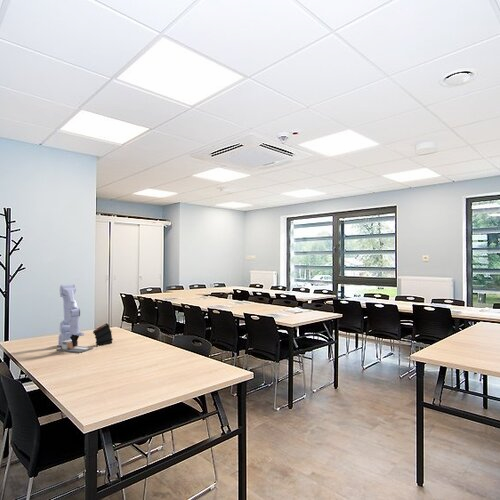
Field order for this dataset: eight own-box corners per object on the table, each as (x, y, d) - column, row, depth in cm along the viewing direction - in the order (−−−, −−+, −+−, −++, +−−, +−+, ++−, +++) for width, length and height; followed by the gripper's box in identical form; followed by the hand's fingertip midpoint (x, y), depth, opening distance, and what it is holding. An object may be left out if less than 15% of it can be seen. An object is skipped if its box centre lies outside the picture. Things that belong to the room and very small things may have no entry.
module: (61, 348, 244) (62, 341, 244) (70, 346, 251) (70, 339, 251) (66, 349, 243) (66, 342, 243) (74, 347, 250) (74, 339, 250)
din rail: (56, 350, 243) (56, 346, 243) (70, 346, 254) (70, 342, 254) (79, 353, 236) (79, 348, 237) (93, 349, 248) (93, 344, 248)
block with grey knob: (67, 347, 244) (67, 342, 244) (74, 346, 249) (74, 340, 250) (70, 348, 243) (71, 342, 243) (77, 346, 248) (77, 340, 249)
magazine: (116, 340, 268) (108, 323, 264) (100, 350, 259) (91, 333, 255) (114, 339, 270) (106, 322, 266) (98, 349, 262) (89, 332, 258)
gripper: (61, 326, 245) (61, 346, 244) (78, 327, 240) (78, 347, 239) (69, 325, 251) (69, 344, 251) (86, 325, 247) (86, 345, 246)
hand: (74, 346), depth 245 cm, fingers closed, pressing on block with grey knob
